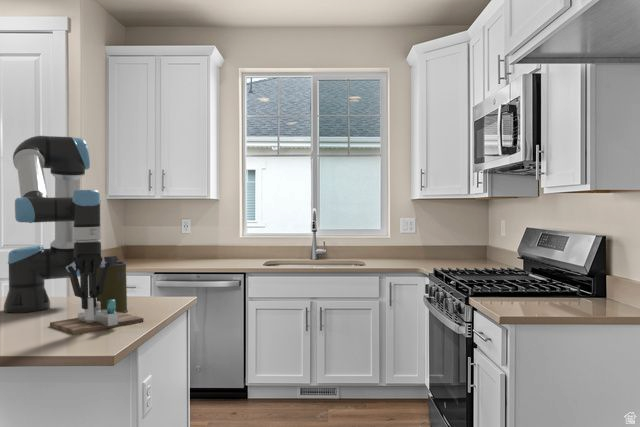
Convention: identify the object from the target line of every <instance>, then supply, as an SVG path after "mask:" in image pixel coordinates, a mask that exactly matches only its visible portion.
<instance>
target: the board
mask: <svg viewBox="0 0 640 427" xmlns="http://www.w3.org/2000/svg"><path fill="white" fill-rule="evenodd" d="M97 310H101V306H100V301H97V300H96V308H94V315H96V311H97ZM116 313H118V324H117V325H112V326H106V325H104V324H101V323H98V322H92V323H86V322H83V321H80V320H78V317H73V318H69V319H62V320H61V319H60V320H56V321H50V322H49V326H50V327H51V328H54V329H58V330H61V331H63V332H66V333H70V334H73V335H79V334H83V333H90V332H94V331H95V332H96V331H99V330H107V329H111V328H117V327H121V326H127V325H132V323H133V324H136V323H137V322H139V323H142V322H141V321H145V320H144V317H143V316H142V317H141V316H137V315H133V314H129V313H126V312H125V313H121V312H117V311H116Z"/></svg>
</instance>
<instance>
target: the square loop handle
mask: <svg viewBox="0 0 640 427" xmlns="http://www.w3.org/2000/svg"><path fill="white" fill-rule="evenodd" d="M77 318H78V320H80V321H83V322H86V323H92V322H98V323H101V324H104V325H106V326H112V325H117V324H118V313H116V306H115V299H110V300H107V310H106V309H104V310H97V311H96V315H94V320H86V319H85V311H84V312H80V313H79V312H78V313H77Z"/></svg>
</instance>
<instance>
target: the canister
mask: <svg viewBox="0 0 640 427" xmlns="http://www.w3.org/2000/svg"><path fill="white" fill-rule="evenodd" d="M103 259H104V260H103V261H105V262H107V263H110V266H109V268H108V269H107V273H106V277H105V282H104V287H103V292H102V294H100V295H98V297H96V301H100V306H101V310H104V309H106V310H107V300H110V299H115V306H116V311H117V312H121V313H125V314H126V313H128V311H129V310H128V296H127V294H128V290H127V264H128V263H127V262H125V261H121V260H120V259H119V258H118V256H117V255H106V256H104V257H103ZM99 270H100V265H99V267H98V268H97V275H96V284H97V279H98V274H99Z"/></svg>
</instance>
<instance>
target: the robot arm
mask: <svg viewBox="0 0 640 427" xmlns="http://www.w3.org/2000/svg"><path fill="white" fill-rule="evenodd" d="M12 161H13V162H12V163H13V165H14V168H15V170H17V176H18V183H19V184H18V186H19V193H20V197H16V198H15V200H14V219H15V220H16V222H18V223H29V224H32V223H50V222H51V223H53V222H54V240H53V241H51V243H50V247H49V248H45V247H44V245H42V244H41V245H30V246H24V247H19V248H15V249H12V250H10V251H9V253H8V257H7V258H8V260H7V265H8V292H7V295H6V298H5V301H4V304H3V312H4V311H5V312H4V313H8V312H12V314H15V313H17V314H19V313H30V312H31V313H32V312H38V311H39V312H40V311H44V310H47V309H50V308H51V300H50V298H49V295H48V293H47V290H46V287H45V280H46V281H47V280H57V279H70V283H71V284H70V285H71V287H72V291H73V295H74V296H75V297H77V298H80V299H81V309H82V310H84V312H85V319H86V320H94V308H96V301H97V298H96V297H98V295H100V294H102V292H103V287H104V282H105V277H106V273H107V269H108V268H109V266H110V263H107V262H105V260H103V259H104V258H103V257H102V255H101V254H102V242H101V241H100V240H101V239H102V232H101V194H100V191H99V190H96V189H81V178H83V177H84V176H85V174H86V170H90V167H91V165H90V164H91V160H90V152H89V147H88V144H87V142H86V140H85V139H84V138H81V137H76V136H75V137H74V136H53V135H52V136H51V135H35V136H32V137H29V138H27V139H25V140H24V141H22V142H20V144H19V145H18V146H17V147H16V148H15V149H14V152H13V156H12ZM44 169H50V174H51V175H52V176H53V177H54V197H49V195H48V190H47V185H46V179H45V173H44ZM99 265H100V270H99V274H98V279H97V284H96V275H97V268H98V267H99ZM79 277H80V278H79ZM79 279H80V280H79Z"/></svg>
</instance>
